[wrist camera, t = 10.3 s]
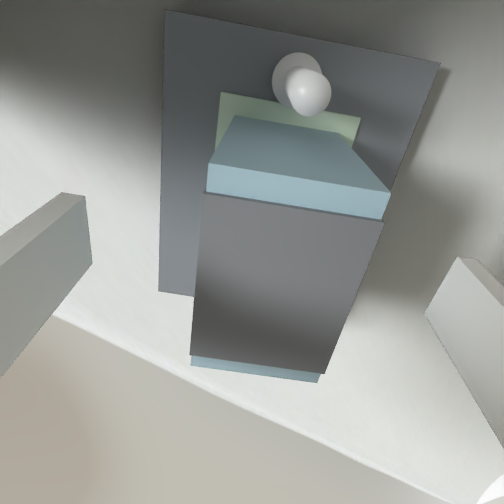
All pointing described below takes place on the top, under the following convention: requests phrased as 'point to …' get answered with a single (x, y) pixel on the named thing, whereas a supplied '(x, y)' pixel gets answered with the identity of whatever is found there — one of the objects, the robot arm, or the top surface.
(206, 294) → the block
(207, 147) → the pin tray
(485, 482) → the top surface
